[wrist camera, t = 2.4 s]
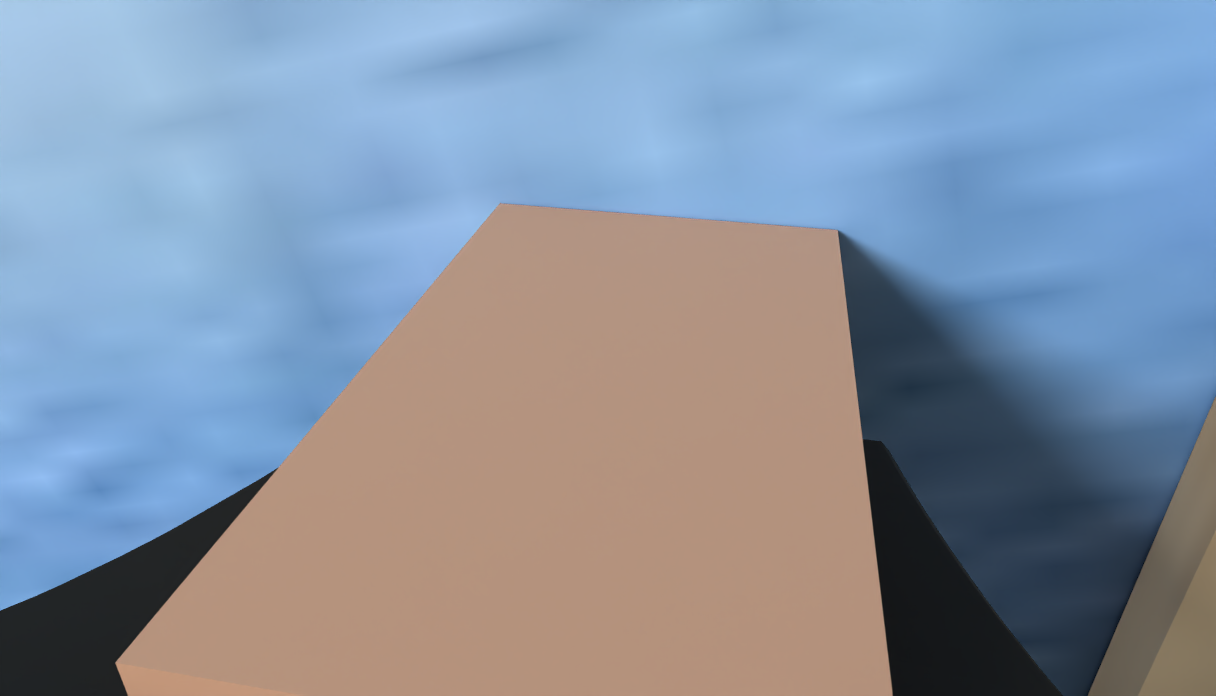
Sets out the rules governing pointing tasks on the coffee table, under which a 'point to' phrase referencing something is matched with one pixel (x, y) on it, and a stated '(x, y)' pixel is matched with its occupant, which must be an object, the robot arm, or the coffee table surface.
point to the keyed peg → (565, 487)
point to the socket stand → (1173, 595)
